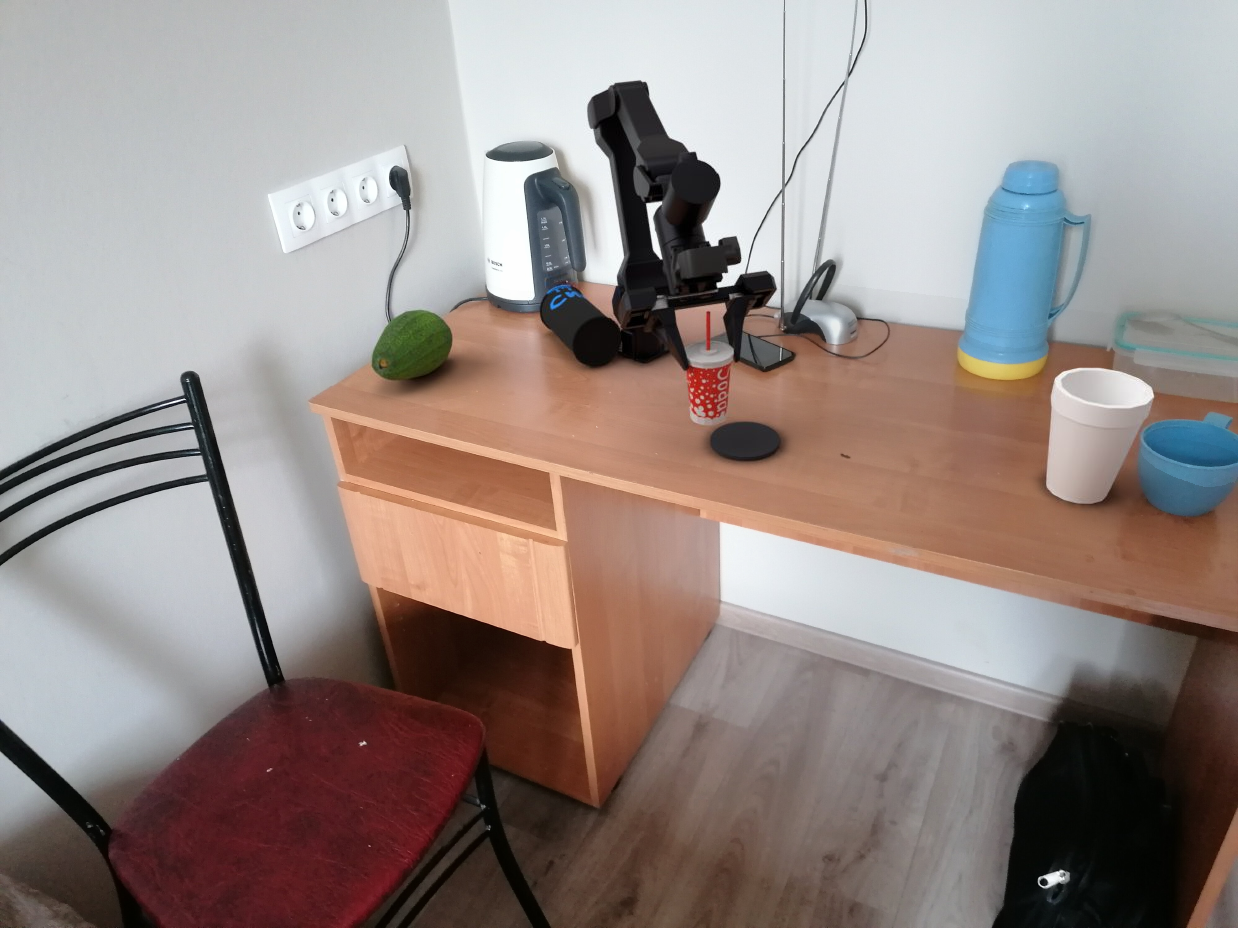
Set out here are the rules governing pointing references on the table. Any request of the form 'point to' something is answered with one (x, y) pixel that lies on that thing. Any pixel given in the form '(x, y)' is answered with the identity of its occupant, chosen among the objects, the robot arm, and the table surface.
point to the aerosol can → (580, 325)
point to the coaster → (745, 441)
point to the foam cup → (1092, 430)
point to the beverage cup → (708, 379)
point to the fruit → (412, 345)
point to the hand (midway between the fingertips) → (712, 365)
